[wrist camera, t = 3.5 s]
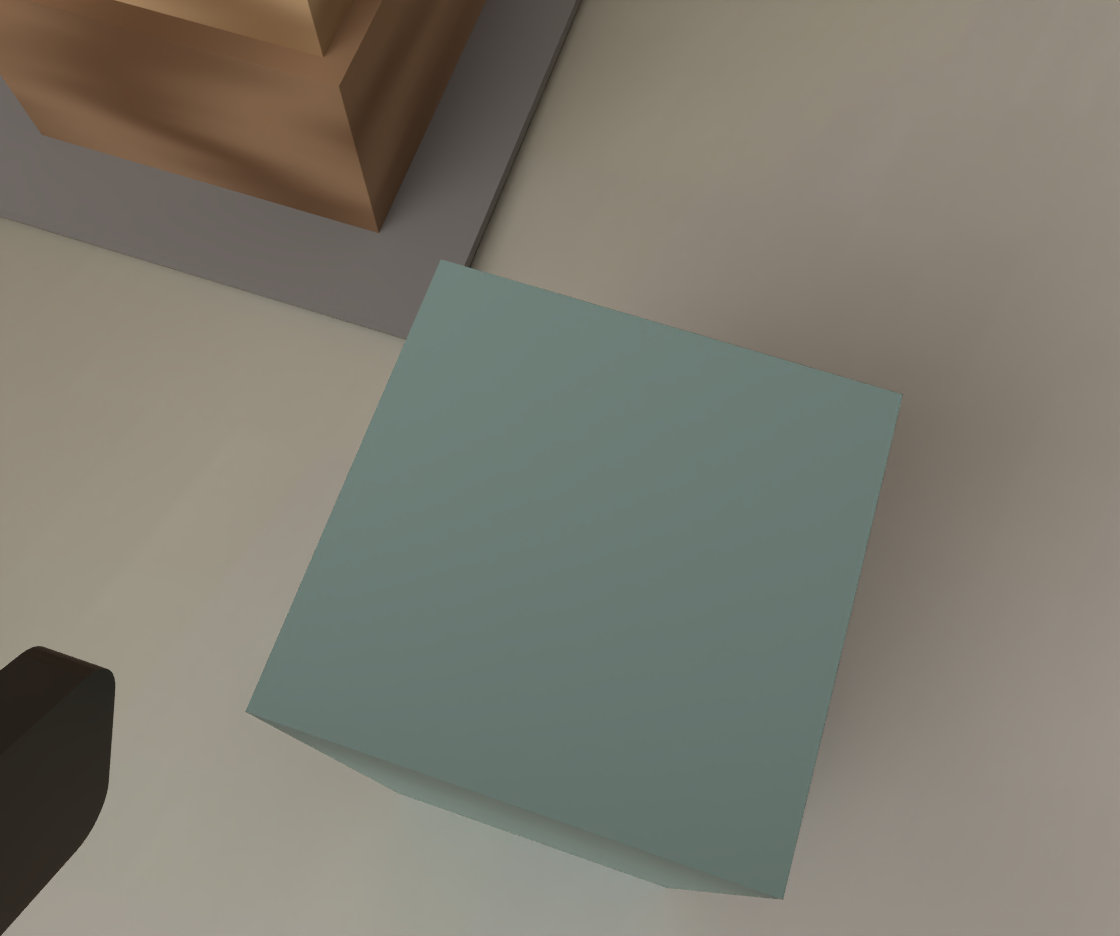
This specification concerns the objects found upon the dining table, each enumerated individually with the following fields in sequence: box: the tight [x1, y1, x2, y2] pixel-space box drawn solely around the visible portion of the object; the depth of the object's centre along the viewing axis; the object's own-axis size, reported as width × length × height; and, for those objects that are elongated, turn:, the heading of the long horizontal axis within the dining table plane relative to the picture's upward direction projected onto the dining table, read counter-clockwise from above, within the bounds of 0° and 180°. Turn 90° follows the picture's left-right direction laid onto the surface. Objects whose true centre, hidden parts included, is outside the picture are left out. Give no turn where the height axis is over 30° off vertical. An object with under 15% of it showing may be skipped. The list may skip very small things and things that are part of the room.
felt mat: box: [0, 0, 581, 339], centre depth 25 cm, size 12×12×1 cm
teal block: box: [246, 259, 903, 900], centre depth 15 cm, size 5×5×10 cm
